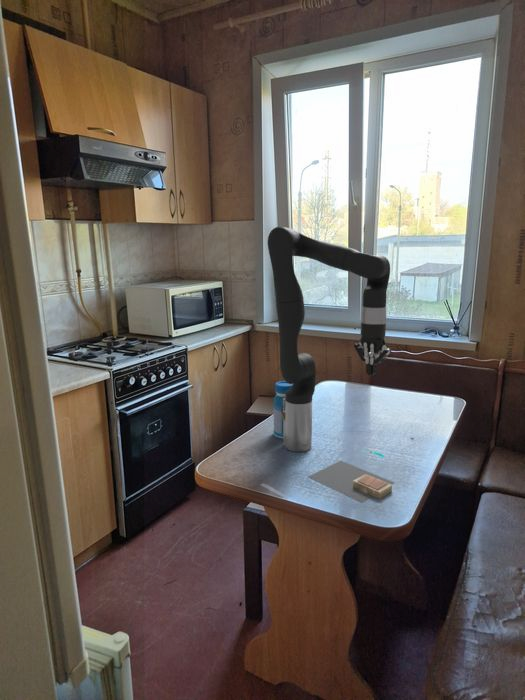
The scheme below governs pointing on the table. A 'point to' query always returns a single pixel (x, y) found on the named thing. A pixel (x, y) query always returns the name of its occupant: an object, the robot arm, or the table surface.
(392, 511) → the table surface
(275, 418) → the beverage bottle
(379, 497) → the maple picture frame
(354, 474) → the rubber mat
